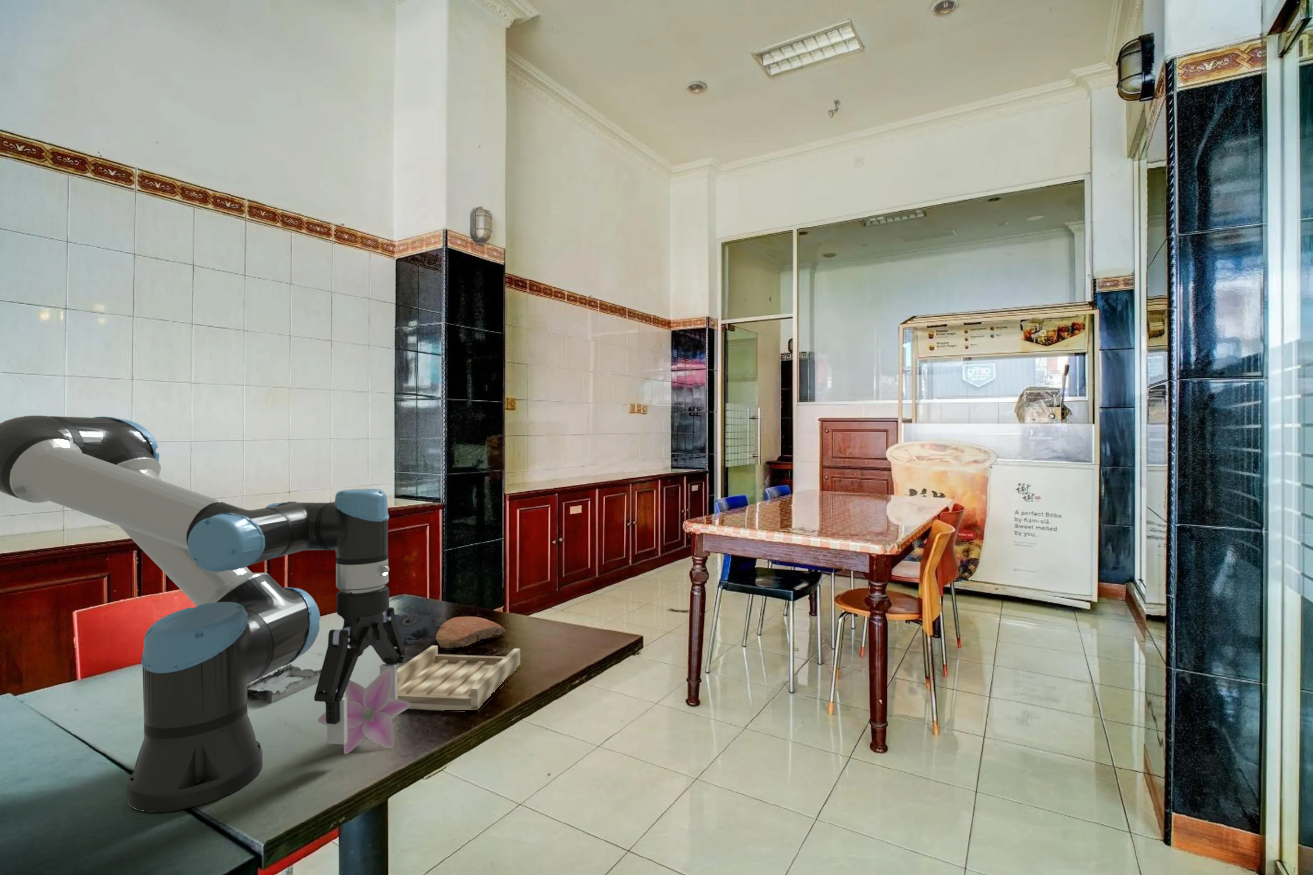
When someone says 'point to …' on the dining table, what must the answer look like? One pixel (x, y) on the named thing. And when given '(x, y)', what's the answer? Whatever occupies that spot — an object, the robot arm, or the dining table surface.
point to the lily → (371, 712)
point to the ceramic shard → (466, 631)
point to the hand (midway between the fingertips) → (364, 722)
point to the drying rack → (452, 679)
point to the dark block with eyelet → (415, 627)
